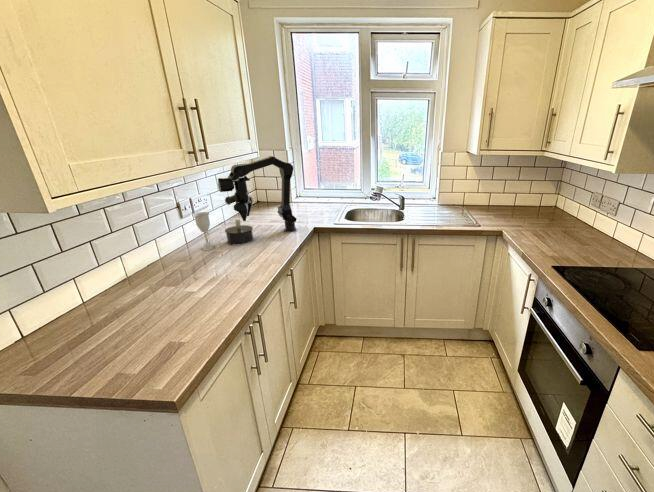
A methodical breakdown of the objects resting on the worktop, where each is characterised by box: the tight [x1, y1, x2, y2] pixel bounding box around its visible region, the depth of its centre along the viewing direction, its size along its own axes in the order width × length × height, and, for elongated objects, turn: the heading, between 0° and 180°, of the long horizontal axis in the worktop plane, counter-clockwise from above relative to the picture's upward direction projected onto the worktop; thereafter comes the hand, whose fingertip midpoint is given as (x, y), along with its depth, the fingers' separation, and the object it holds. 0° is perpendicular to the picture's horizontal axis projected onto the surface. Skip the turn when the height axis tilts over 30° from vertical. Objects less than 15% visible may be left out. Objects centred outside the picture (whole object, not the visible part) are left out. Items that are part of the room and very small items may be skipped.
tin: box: [225, 229, 254, 246], centre depth 169 cm, size 13×13×6 cm
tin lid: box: [224, 219, 254, 234], centre depth 167 cm, size 14×14×6 cm
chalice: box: [192, 211, 215, 251], centre depth 157 cm, size 7×7×18 cm
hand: (246, 218), depth 170 cm, fingers open, 9 cm apart
